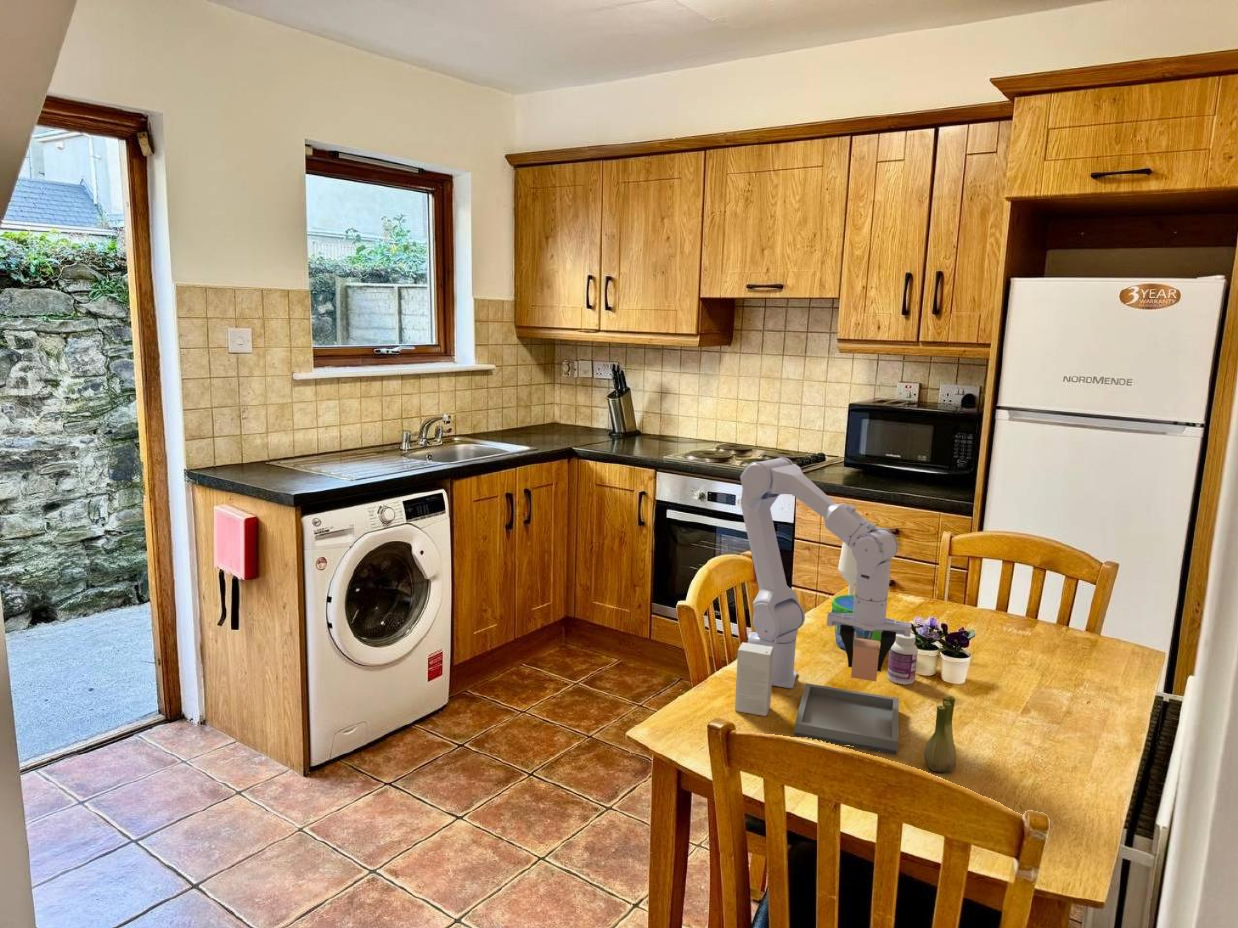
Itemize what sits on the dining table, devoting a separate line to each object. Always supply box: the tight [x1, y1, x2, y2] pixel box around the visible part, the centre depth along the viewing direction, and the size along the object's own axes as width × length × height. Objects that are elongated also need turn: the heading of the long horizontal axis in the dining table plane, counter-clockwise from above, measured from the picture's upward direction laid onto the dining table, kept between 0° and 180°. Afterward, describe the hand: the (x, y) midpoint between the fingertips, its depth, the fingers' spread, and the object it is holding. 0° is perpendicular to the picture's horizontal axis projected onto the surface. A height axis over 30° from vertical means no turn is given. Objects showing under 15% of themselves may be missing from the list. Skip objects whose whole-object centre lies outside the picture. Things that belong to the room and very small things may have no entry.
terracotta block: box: [850, 638, 880, 682], centre depth 156 cm, size 4×4×6 cm
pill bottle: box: [886, 632, 919, 686], centre depth 171 cm, size 5×5×10 cm
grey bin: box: [793, 682, 900, 756], centre depth 153 cm, size 17×17×2 cm
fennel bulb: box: [923, 695, 957, 773], centre depth 139 cm, size 6×5×12 cm
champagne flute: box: [837, 541, 857, 595], centre depth 201 cm, size 7×7×24 cm
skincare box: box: [734, 641, 774, 717], centre depth 157 cm, size 6×4×12 cm
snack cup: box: [830, 594, 881, 651], centre depth 187 cm, size 16×10×10 cm
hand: (864, 667), depth 156 cm, fingers closed on terracotta block, 4 cm apart
